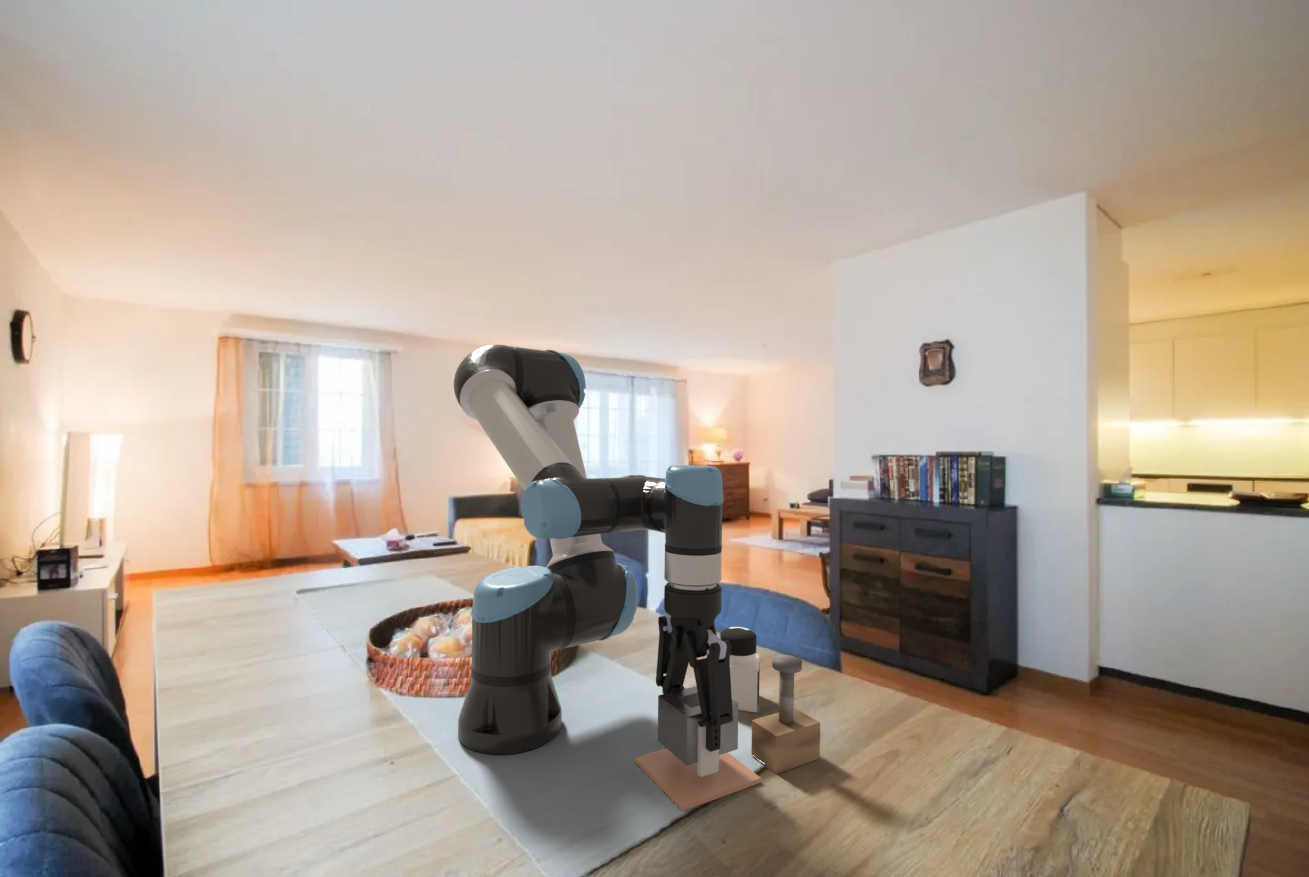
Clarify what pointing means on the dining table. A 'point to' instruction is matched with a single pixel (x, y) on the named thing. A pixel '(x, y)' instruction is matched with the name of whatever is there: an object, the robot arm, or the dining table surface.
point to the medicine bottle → (743, 667)
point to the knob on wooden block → (786, 726)
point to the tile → (695, 778)
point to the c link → (689, 725)
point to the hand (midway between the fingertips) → (690, 757)
